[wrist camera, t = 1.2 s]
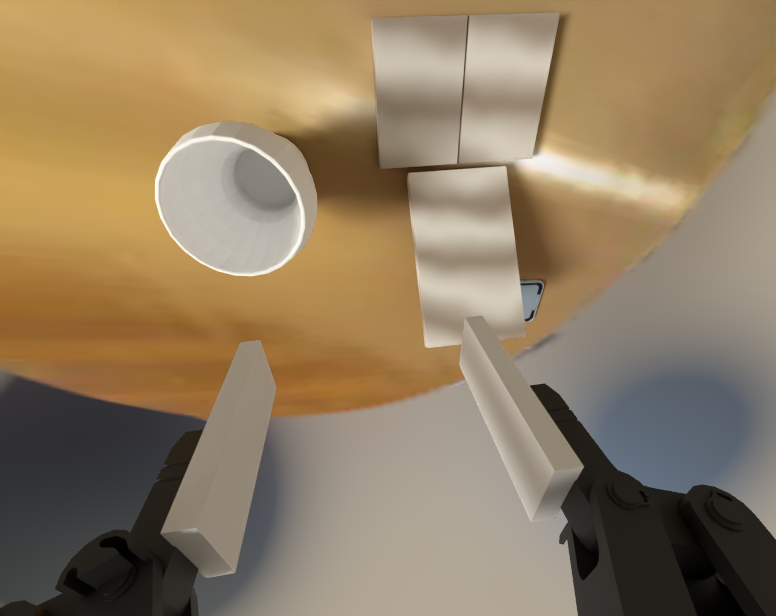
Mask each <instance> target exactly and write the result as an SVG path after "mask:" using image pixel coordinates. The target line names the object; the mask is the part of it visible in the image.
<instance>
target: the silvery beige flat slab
mask: <svg viewBox="0 0 776 616" xmlns="http://www.w3.org/2000/svg"><path fill="white" fill-rule="evenodd" d="M406 180H407V189H408V198H409V207H410V216H411V225H412V233H413V242H414V251H415V260H416V269H417V278H418V287H419V296H420V305H421V314H422V323H423V332H424V341H425V347H427V348H432V347H440V346H449V345H457V344H462V337H463V328H464V319H465V317H473V316H483V317H484V319H485V320H486V322H487V323H488V325H489V326H490V328H491V329H492V331H493V332H494V334H495V335H496V337H497V338H498V340H499V339H508V338H516V337H524V336H526V328H525V320H524V311H523V303H522V295H521V286H520V278H519V270H518V261H517V253H516V245H515V236H514V228H513V220H512V211H511V203H510V195H509V186H508V178H507V170H506V166H499V167H485V168H471V169H457V170H442V171H428V172H414V173H408V175H407V177H406Z"/></svg>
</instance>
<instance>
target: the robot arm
mask: <svg viewBox="0 0 776 616" xmlns="http://www.w3.org/2000/svg"><path fill="white" fill-rule="evenodd" d="M459 366H460V368H461V370H462V372H463V374H464V377H465V379H466V381H467V383H468V385H469V388H470V390H471V392H472V394H473V396H474V399H475V401H476V403H477V405H478V407H479V409H480V412H481V414H482V416H483V418H484V420H485V422H486V425H487V427H488V429H489V431H490V433H491V436H492V438H493V440H494V442H495V444H496V447H497V449H498V451H499V453H500V455H501V458H502V460H503V462H504V464H505V466H506V468H507V471H508V473H509V475H510V477H511V479H512V482H513V483H514V486H515V488H516V490H517V492H518V494H519V497H520V499H521V501H522V503H523V505H524V508H525V510H526V512H527V514H528V517H529V519H530V521H531V522H534V521H540V520H546V519H552V518H556V516H557V514H558V513H559V511H560V509H562V511H563V513H564V515H565V516H566V518H567V520H568V523H567V524H566V526H565V528H564V529H563V531H562V532H561V534H560V540H559V543H560V544H564V543H565V541H566V540H567V541H568V547H569V555H570V562H571V569H572V576H573V583H574V590H575V597H576V604H577V611H578V616H776V539H775V538H774V537H773V536H772V535H771V533H770V532H769V531H768V530H767V529H766V527H765V526H764V525H763V524H762V523H761V521H760V520H759V519H758V518H757V517H756V515H755V514H754V513H753V512H752V511H751V510H750V509H749V508H748V507H747V506H745V504H744V503H742V502H741V501H739V500H738V499H737V498H735V497H734V496H732V495H731V494H729V493H727V492H725V491H723V490H720V489H718V488H716V487H713V486H708V485H698V486H693V487H692V488H691V489H690V490H689V491H688V493H687V494H683V493H677V492H672V491H666V490H660V489H655V488H651V487H647V486H643V485H642V484H641V483H640V482H639V481H638V480H636V479H635V478H633V477H631V476H630V475H628V474H626V473H623V472H621V471H618V470H617V469H616V468H615V467H614V466H613V464H612V463H611V462H610V461H609V460H608V459H607V457H606V456H605V454H604V453H603V452H602V450H601V449H600V448H599V446H598V445H597V444H596V443H595V441H594V440H593V439H592V437H591V436H590V435H589V433H588V432H587V431H586V429H585V428H584V427H583V425H582V424H581V423H580V422H579V421H578V420H577V418H576V416H575V415H574V413H573V412H572V411H571V410H569V407H568V406H567V404H566V403H565V402H564V400H563V399H562V398H561V396H560V395H559V394H558V393H557V392H555V391H554V390H553V389H551V388H550V387H549V386H547V385H546V384H538V385H530V386H529V384H528V383H527V381H526V380H525V378H524V377H523V375H522V374H521V372H520V371H519V369H518V368H517V366H516V365H515V363H514V362H513V360H512V359H511V357H510V356H509V354H508V353H507V351H506V350H505V349H504V347H503V346H502V344H501V343H500V341H499V340H498V338H497V337H496V335H495V334H494V332H493V331H492V329H491V328H490V326H489V325H488V323H487V322H486V320H485V319H484V317H483V316H473V317H465V319H464V328H463V337H462V345H461V354H460V363H459ZM276 389H277V388H276V385H275V382H274V379H273V376H272V373H271V370H270V367H269V365H268V362H267V359H266V356H265V353H264V350H263V347H262V344H261V341H260V340H258V341H249V342H240V345H239V347H238V349H237V352H236V354H235V356H234V359H233V361H232V364H231V366H230V368H229V371H228V373H227V375H226V378H225V380H224V383H223V385H222V387H221V390H220V392H219V395H218V397H217V399H216V402H215V404H214V406H213V409H212V411H211V414H210V416H209V418H208V421H207V423H206V425H205V428H204V430H199V431H191V432H186V433H185V434H184V435H183V436H182V437H181V438H180V439H179V441H178V442H177V443H176V444H175V445H174V446H173V447H172V449H171V451H170V453H169V455H168V457H167V459H166V461H165V463H164V465H163V466H164V468H163V469H161V471H160V473H159V475H158V477H157V479H156V483H155V484H154V485H153V487H152V490H151V491H150V494H149V495H148V498H147V500H146V502H145V504H144V506H143V508H142V510H141V512H140V514H139V516H138V518H137V520H136V522H135V524H134V526H133V528H132V530H131V532H130V533H129V532H128V531H127V530H113V531H110V532H108V533H105V534H102V535H100V536H99V537H97V538H96V539H94V540H92V541H91V542H89V543H88V544H86V545H85V546H84V547H83V548H82V549H81V550H80V551H79V552H78V553H77V554H76V555H75V556H74V557H73V558H72V559H71V561H70V562H69V563H68V565H67V566H66V567H65V569H64V570H63V572H62V573H61V575H60V578H59V580H58V583H57V585H56V588H55V589H56V590H58V591H60V592H62V594H60V595H58V596H56V597H54V598H52V599H50V600H48V601H46V602H44V603H42V604H40V605H38V606H36V605H34V604H32V603H30V602H27V601H25V600H23V601H17V602H11V603H9V604H7V605H5V606H3V607H1V608H0V616H199V615H198V603H197V595H196V592H195V589H194V588H193V585H194V582H195V578H196V575H197V572H198V571H199V572H200V573H201V574H202V575H203V576H205V577H206V578H207V577H214V576H219V575H225V574H231V573H235V571H236V567H237V562H238V558H239V553H240V549H241V545H242V540H243V535H244V531H245V527H246V522H247V517H248V513H249V509H250V504H251V500H252V496H253V491H254V487H255V482H256V477H257V473H258V469H259V464H260V460H261V455H262V451H263V446H264V442H265V438H266V433H267V429H268V424H269V420H270V415H271V411H272V406H273V402H274V397H275V393H276Z"/></svg>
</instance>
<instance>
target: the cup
mask: <svg viewBox="0 0 776 616" xmlns="http://www.w3.org/2000/svg"><path fill="white" fill-rule="evenodd" d="M155 200H156V204H157V207H158V211H159V215H160V218H161V220H162V222H163V223H164V225H165V227H166V229H167V230H168V232H169V234H170V236H171V237H172V238H173V239H174V240H175V241H176V242H177V244H178V245H179V246H180V247H181V248H182V249H183V250H184V251H185V252H186V253H188V254H189V255H190V256H192V257H193V258H194V259H196V260H197V261H198V262H200V263H202V264H204V265H206V266H208V267H210V268H212V269H214V270H216V271H219V272H223V273H227V274H231V275H235V276H256V275H261V274H266V273H270V272H272V271H274V270H276V269H278V268H280V267H282V266H284V265H285V264H286V263H287V262H288V261H290V260H291V259H292V258H293V257H294V256H295V255H296V254H298V253H299V252H300V251H301V250H302V249H303V248H304V246H305V245H306V243H307V242H308V240H309V238H310V237H311V235H312V231H313V228H314V224H315V220H316V216H317V192H316V189H315V185H314V181H313V177H312V175H311V173H310V172H309V168H308V164H307V162H306V160H305V158H304V156H303V154H302V153H301V151H300V150H299V149H298V148H297V147H296V146H295V145H294V144H293V143H292V142H290V141H289V140H287V139H286V138H284V137H281V136H279V135H276V134H274V133H273V132H272V131H270V130H267V129H264V128H262V127H259V126H257V125H254V124H252V123H245V122H237V121H225V122H218V123H212V124H207V125H201V126H199V127H197V128H195V129H194V130H192V131H190V132H188V133H186V134H185V135H183V136H182V137H181V138H180V139H179V141H178V142H177V143H176V144H175V145H174V146H173V148H172V149H171V150H170V151H169V153H168V154H167V155H166V157H165V158H164V159H163V161H162V162H161V165H160V168H159V171H158V174H157V176H156V179H155Z"/></svg>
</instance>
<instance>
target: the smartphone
mask: <svg viewBox="0 0 776 616" xmlns="http://www.w3.org/2000/svg"><path fill="white" fill-rule="evenodd" d="M520 286H521V295H522V303H523V311H524V320H525V323H526V322H530V321H531V320H533V318H534V316H535V313H536V310H537V307H538V304H539V301H540V298H541V295H542V292H543V288H544V284H543V283H542V282H541V281H540V280H520Z"/></svg>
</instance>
